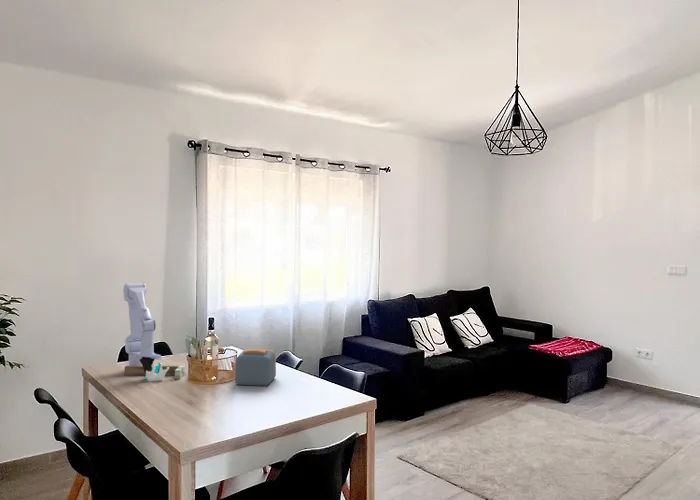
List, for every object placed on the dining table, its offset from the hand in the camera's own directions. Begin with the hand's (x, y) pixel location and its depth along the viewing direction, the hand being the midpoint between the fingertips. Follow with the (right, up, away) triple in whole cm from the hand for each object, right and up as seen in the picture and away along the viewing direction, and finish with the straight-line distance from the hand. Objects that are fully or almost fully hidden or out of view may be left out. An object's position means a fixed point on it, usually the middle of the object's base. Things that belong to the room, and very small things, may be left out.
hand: (147, 372), depth 257 cm
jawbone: (+4, -3, -1) cm, 5 cm away
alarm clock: (+53, -3, -4) cm, 53 cm away
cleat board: (+2, -2, +3) cm, 4 cm away
